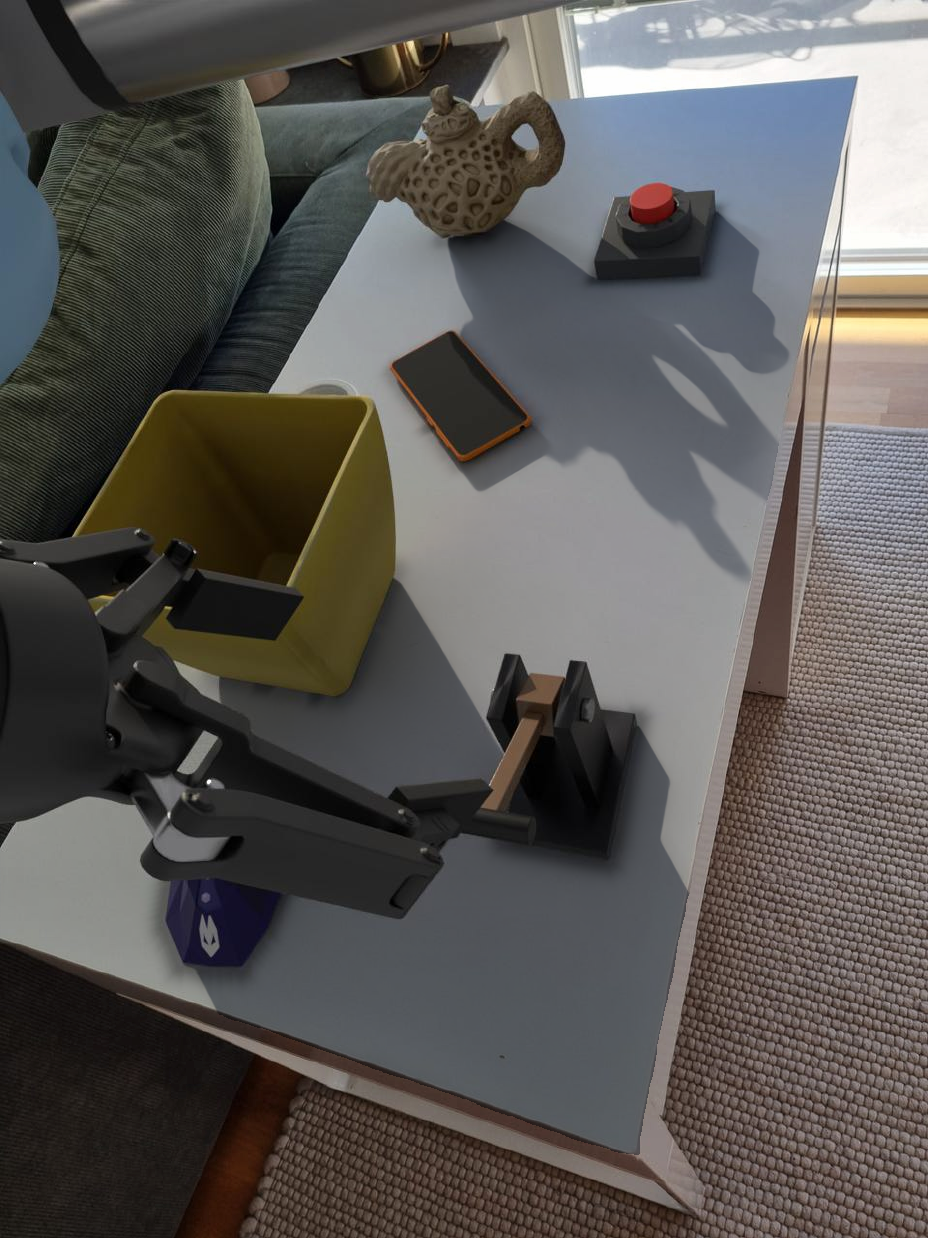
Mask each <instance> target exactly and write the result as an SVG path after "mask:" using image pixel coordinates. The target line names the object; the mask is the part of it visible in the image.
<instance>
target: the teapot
mask: <svg viewBox="0 0 928 1238" xmlns="http://www.w3.org/2000/svg"><path fill="white" fill-rule="evenodd" d="M429 99H430V101H431V104H432V108H431V109H430V110H429V111H428V113H427V114H426V116H425V118H424V120H422V122H421V128H422V132H423V133H424V134H425V136H426V138H425V139H422V138H418V139H414V140H412V141H409V140H408V139H407V140H399V141H398V140H396V141H390V142H389V141H388V142H386V143H384V144H382V146H381V147H379V148H377V149H376V151H374V153H373V154H372V156H371V158H370V159H369V161H368V162H367V163H368V164H367V169H366V174H365V179H366V181H367V182H368V184H369V193H370V194H371V195H372V196H374V198H375V200H376V201H382V202H384V203H391V202H392V201H393V200H394V199H398V200H399V201H400V202H401V203H405V204H407V206H409V207H410V209H411V210H412V213H413V216H414V217H415V218H416V219H417V220H418V221H419V222H420V223H422V225H424V226H425V227H426V228H428V229H430V230H431V231H432V232H433V233H434V234H436V236H438V237H440V238H441V239H447V238H450V237H452V236H453V237H455V236H456V237H461V238H470V237H473V236H477V235H482V234H484V233H489V232H490V231H492V230H493V228H494V227H495V226H497V225H498V224H499V223H500V222H502V221H504V220H505V219H506V218H508V217H509V216H510V214H511V213H512V212H513V211H514V209H515V208H516V206H517V205H518V203H519V202H520V199H521V198H522V196H523V194H524V193H525V191H526V190H528V189H531V188H541V187H544V186H546V185H548V184H549V182H551V180H552V179H553V178H554V177H556V176H557V175H558V174H559V172H560V171H561V167H562V166H563V161H564V157H565V152H566V151H565V150H566V139H565V136H564V133H563V131H562V128H561V126H560V123H559V121H558V119H557V116H556V114H555V112H554V110H553V108H552V106H551V104H549V102H548V101H546V99H544V98H543V97H542V96H541V95H539V93H537V92H535V91H534V90H533V91H527V92H525V93H521V94H519V95H517V96H515V97H514V98H512V99H511V100H510V101H508V103H506V104H505V105H504V106H502V107H500V108H499V109H498V110H497V111H495V112H494V113H493V114H491V115H489V116H488V117H487V118H485V119H483V120H480V119H479V116H478V113H477V112H476V111H475V110H474V109H473V108H472V107H469V104H467V103H466V102H465V101H461V100H457V99H454V95H453V92H452V89H451V87H450V85H448V84H445V85H442V86H438V87H435V88H433V89H432V90H431V91H429ZM523 125H528V126H529V127H531V128H532V131H533V133H534V136H535V137H536V139H537V142H538V147H535V148H534V149H529V150H528V149H526V148H525V147H522V146H521V145H519V144H518V143H517V142H516V141H515V140H514V139H513V135H514V134H515V133H516V131H517V130H518V129H520V127H522V126H523Z"/></svg>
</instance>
